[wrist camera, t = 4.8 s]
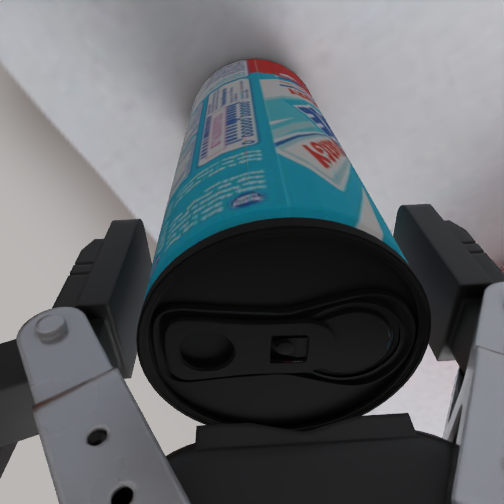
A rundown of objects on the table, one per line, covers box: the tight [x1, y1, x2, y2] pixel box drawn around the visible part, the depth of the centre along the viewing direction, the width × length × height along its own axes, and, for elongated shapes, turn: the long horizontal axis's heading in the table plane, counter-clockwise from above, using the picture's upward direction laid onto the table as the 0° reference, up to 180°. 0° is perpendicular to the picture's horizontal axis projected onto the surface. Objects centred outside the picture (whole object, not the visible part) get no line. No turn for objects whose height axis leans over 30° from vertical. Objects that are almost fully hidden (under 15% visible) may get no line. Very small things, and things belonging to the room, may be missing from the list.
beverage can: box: [136, 59, 431, 432], centre depth 15 cm, size 6×6×15 cm
